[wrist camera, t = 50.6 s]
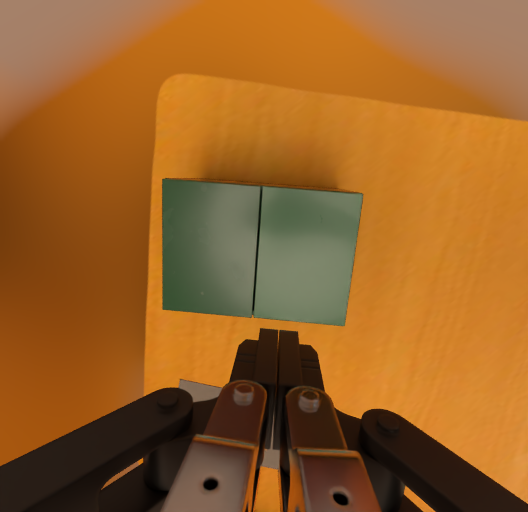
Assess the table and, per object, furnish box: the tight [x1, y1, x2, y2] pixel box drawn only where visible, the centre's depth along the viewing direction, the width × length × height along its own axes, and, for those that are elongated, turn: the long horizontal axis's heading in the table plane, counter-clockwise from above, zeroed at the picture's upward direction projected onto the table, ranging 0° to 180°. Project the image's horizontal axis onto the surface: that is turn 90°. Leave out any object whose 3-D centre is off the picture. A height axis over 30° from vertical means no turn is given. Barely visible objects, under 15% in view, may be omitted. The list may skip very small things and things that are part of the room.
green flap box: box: [162, 178, 362, 318], centre depth 35 cm, size 17×12×13 cm
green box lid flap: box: [254, 186, 363, 326], centre depth 28 cm, size 8×12×1 cm
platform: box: [179, 379, 280, 469], centre depth 45 cm, size 12×18×7 cm, turn 79°
